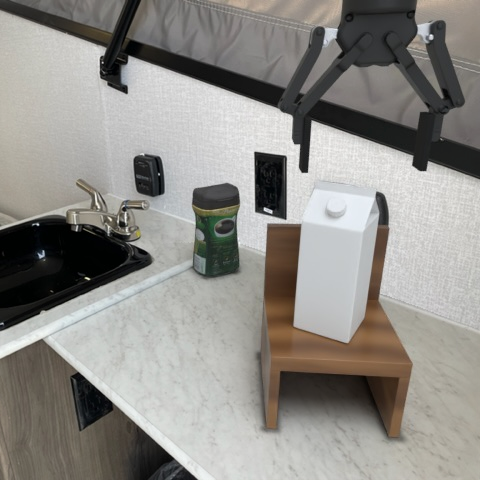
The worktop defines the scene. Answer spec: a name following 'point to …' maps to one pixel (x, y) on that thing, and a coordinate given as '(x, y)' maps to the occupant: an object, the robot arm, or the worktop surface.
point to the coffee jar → (216, 229)
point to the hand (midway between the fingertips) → (360, 169)
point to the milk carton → (335, 259)
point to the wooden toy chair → (323, 348)
